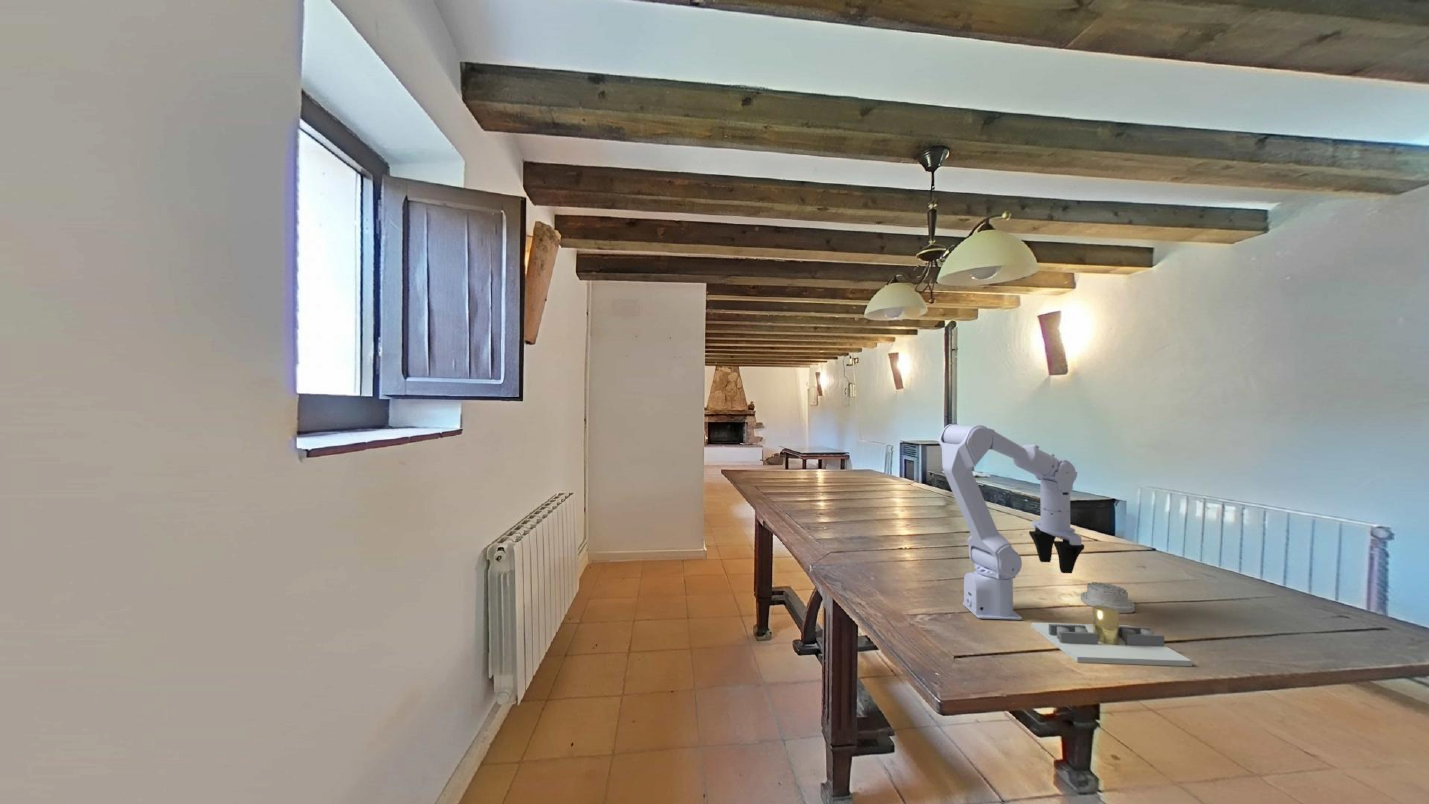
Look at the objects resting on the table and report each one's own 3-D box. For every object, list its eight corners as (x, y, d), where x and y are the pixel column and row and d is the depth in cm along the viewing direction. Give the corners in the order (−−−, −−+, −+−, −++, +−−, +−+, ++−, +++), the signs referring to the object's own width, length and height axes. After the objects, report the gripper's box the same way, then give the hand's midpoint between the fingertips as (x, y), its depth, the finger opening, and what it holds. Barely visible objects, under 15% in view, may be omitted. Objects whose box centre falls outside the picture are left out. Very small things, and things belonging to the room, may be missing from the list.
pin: (1103, 644, 92) (1103, 613, 92) (1087, 635, 96) (1087, 605, 96) (1124, 645, 92) (1124, 613, 92) (1107, 635, 96) (1107, 605, 96)
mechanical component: (1146, 615, 108) (1114, 597, 118) (1146, 596, 108) (1113, 580, 118) (1099, 613, 109) (1071, 596, 119) (1099, 594, 109) (1071, 578, 119)
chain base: (1077, 662, 87) (1077, 646, 87) (1031, 627, 101) (1031, 613, 101) (1191, 666, 86) (1191, 649, 86) (1129, 630, 100) (1129, 615, 100)
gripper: (1095, 516, 104) (1096, 578, 104) (1052, 503, 119) (1052, 557, 119) (1062, 516, 105) (1062, 577, 105) (1023, 503, 119) (1023, 557, 119)
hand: (1055, 567), depth 112 cm, fingers open, 7 cm apart
